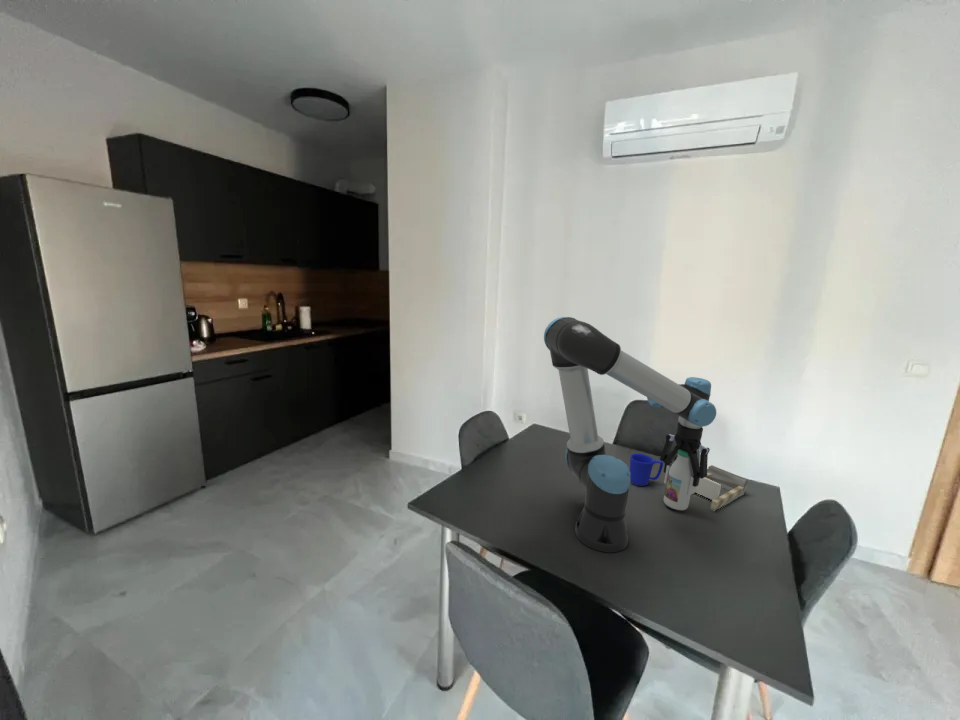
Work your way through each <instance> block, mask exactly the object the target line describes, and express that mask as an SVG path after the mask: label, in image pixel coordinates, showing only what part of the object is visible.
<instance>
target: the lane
mask: <svg viewBox="0 0 960 720" xmlns="http://www.w3.org/2000/svg"><path fill="white" fill-rule="evenodd" d="M705 478H708V479H711V480H714V481H716V482H719V483H722V484H725V485H727V486H729V487H732V488H734V489H732V490H730V491H727V492H725V493H723V494H721V495H719V497H718V498H716V499H714V500H712V501H711V504H710V508H712V509H714V510H716V509H717V508H719V507H721V506H722V505H723V504H725V503H726V502H728V501H729V500H731V499H732V498H734V497H735V496H737V495H739V494H740V493H741V492H743V491H744V490H746V491H747V486H748V482H749V480H748V479H747V478H745V477H742V476H740V475H737V474H734V473H732V472H730V471H728V470H725V469H722V468H720V467H717V466H715V465H712V464H711V465H709V466H707V477H705Z"/></svg>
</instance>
